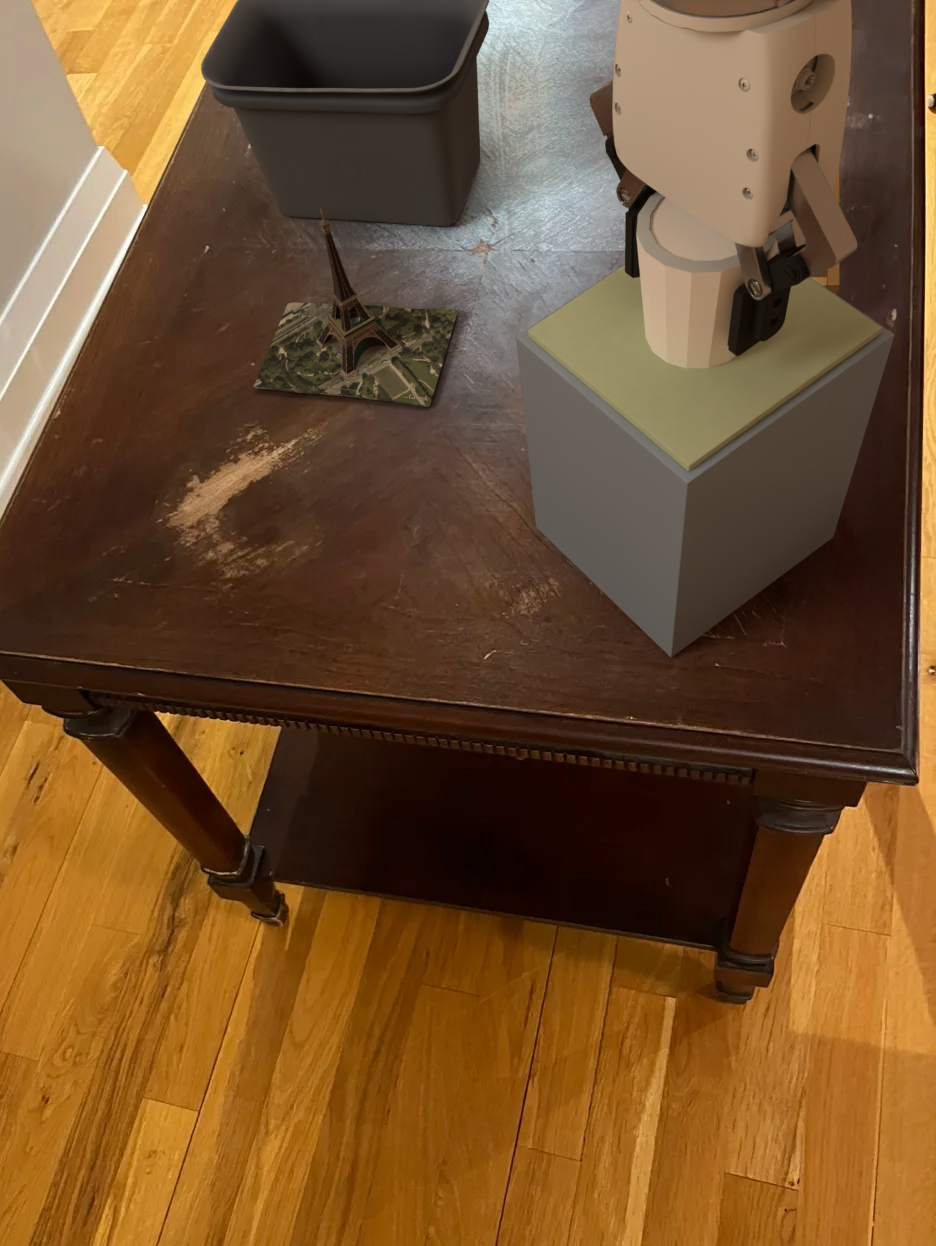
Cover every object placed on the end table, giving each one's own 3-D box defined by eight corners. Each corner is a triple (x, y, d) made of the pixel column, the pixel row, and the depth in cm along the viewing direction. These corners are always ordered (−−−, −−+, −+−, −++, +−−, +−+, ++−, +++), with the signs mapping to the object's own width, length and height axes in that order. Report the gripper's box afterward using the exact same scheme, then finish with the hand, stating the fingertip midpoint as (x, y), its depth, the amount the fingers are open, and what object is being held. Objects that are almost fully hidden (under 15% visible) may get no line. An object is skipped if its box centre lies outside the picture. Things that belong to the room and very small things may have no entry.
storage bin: (241, 237, 96) (185, 83, 83) (300, 119, 102) (255, -42, 89) (473, 255, 90) (450, 92, 77) (521, 129, 96) (507, -43, 83)
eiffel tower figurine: (251, 395, 87) (194, 260, 76) (288, 302, 91) (240, 160, 80) (430, 410, 83) (400, 270, 72) (461, 312, 87) (437, 164, 76)
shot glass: (609, 318, 60) (609, 209, 54) (720, 264, 60) (731, 150, 54) (676, 398, 57) (684, 292, 50) (792, 340, 57) (814, 228, 51)
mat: (880, 334, 57) (882, 327, 56) (688, 472, 55) (689, 465, 55) (706, 215, 63) (707, 208, 62) (528, 336, 61) (527, 330, 60)
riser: (833, 537, 72) (895, 334, 57) (671, 658, 71) (687, 483, 55) (688, 419, 79) (706, 207, 63) (535, 527, 77) (515, 336, 61)
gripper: (998, -32, 37) (884, 349, 53) (655, -187, 45) (645, 185, 61) (834, 78, 36) (767, 434, 52) (513, -100, 44) (539, 255, 60)
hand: (701, 297), depth 56 cm, fingers open, 7 cm apart
